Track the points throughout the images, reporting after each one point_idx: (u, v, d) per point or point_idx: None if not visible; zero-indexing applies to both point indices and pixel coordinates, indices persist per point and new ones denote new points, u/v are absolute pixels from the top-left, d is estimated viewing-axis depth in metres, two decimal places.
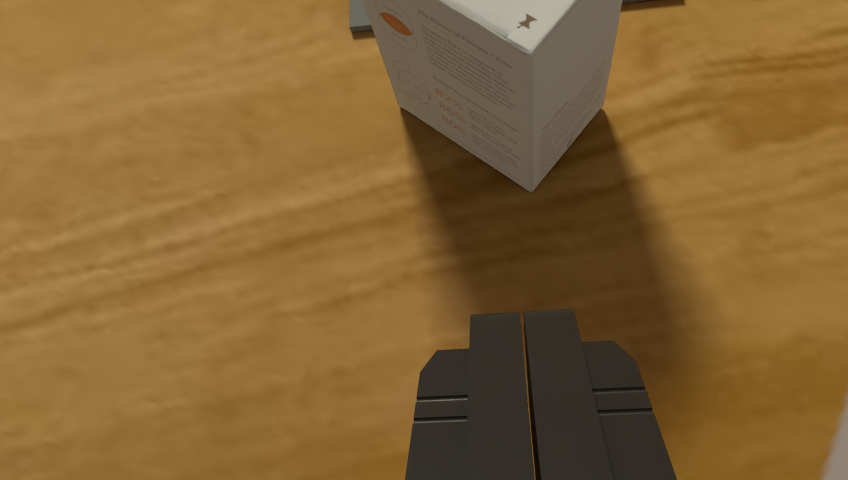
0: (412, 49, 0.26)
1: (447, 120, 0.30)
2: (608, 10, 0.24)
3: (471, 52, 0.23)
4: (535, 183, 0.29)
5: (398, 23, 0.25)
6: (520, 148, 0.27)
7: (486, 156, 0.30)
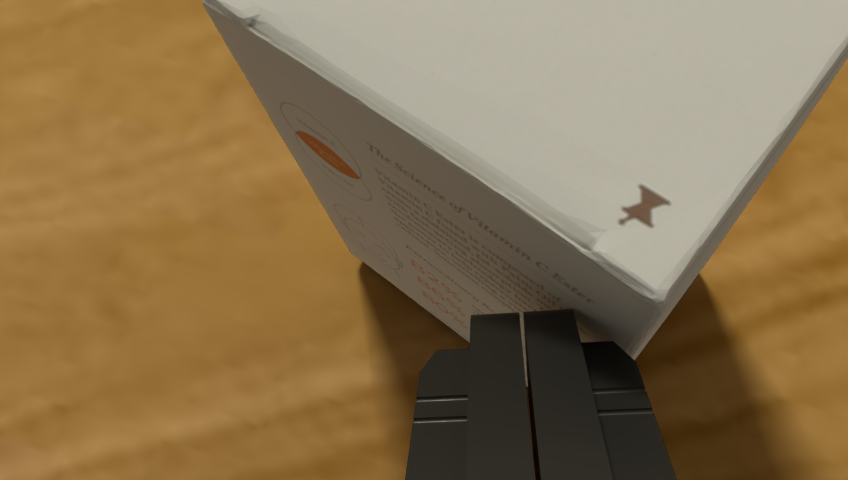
0: (363, 199, 0.13)
1: (432, 299, 0.17)
2: None
3: (489, 244, 0.10)
4: None
5: (332, 155, 0.12)
6: None
7: None
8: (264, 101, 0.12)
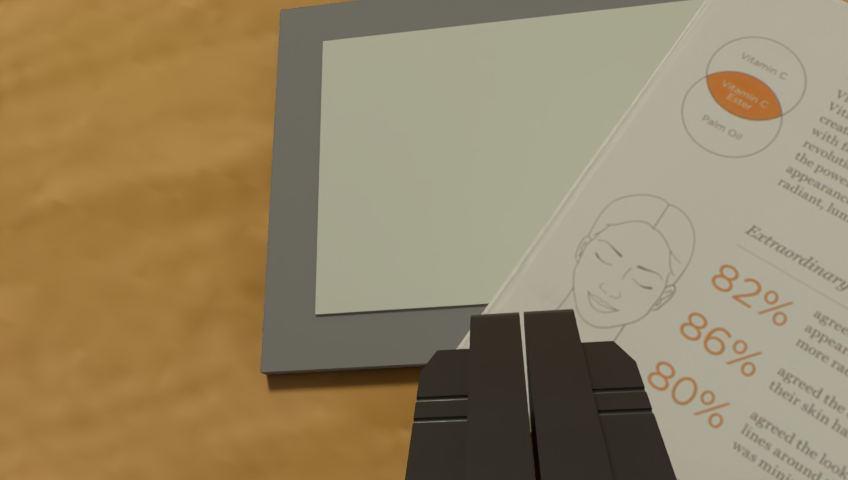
0: (740, 156, 0.13)
1: (669, 378, 0.12)
2: None
3: None
4: None
5: (756, 93, 0.13)
6: None
7: None
8: (694, 42, 0.14)
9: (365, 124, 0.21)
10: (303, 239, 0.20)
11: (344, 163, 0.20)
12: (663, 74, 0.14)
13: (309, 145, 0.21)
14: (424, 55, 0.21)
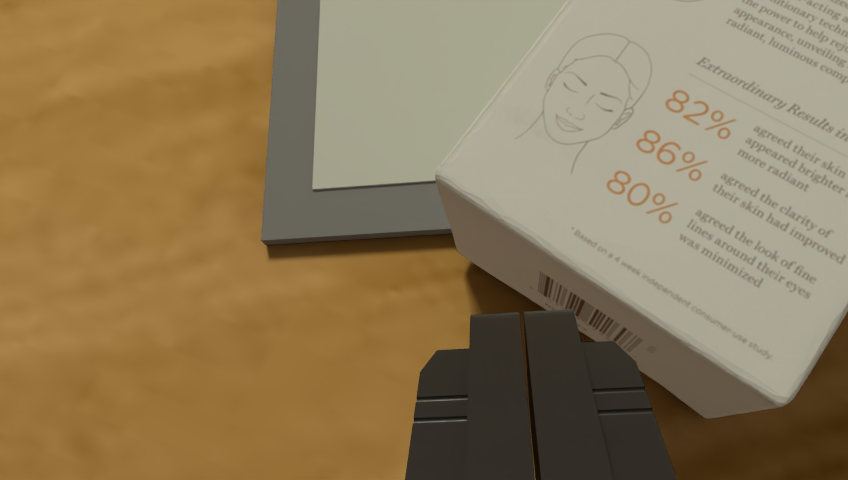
0: None
1: (625, 184, 0.13)
2: None
3: None
4: None
5: None
6: None
7: (692, 287, 0.13)
8: None
9: (361, 22, 0.22)
10: (302, 124, 0.21)
11: (341, 57, 0.22)
12: None
13: (308, 41, 0.22)
14: None
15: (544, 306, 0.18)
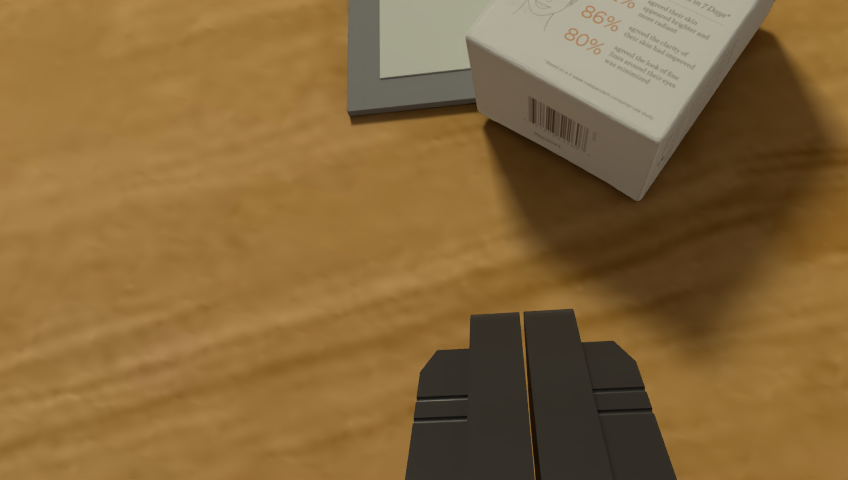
0: None
1: (575, 35, 0.23)
2: (749, 40, 0.27)
3: None
4: (673, 128, 0.22)
5: None
6: (710, 45, 0.23)
7: (611, 86, 0.23)
8: None
9: None
10: (370, 38, 0.31)
11: None
12: None
13: None
14: None
15: (534, 137, 0.28)
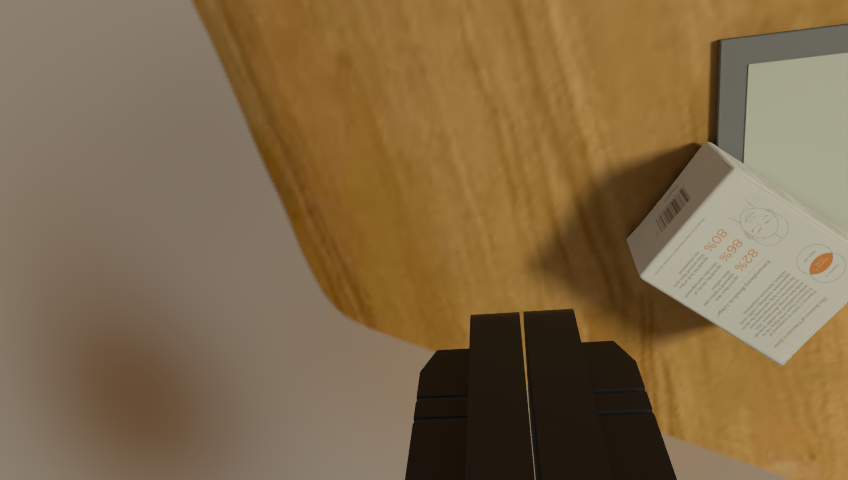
0: (797, 260, 0.37)
1: (720, 235, 0.37)
2: None
3: (789, 322, 0.39)
4: None
5: (821, 267, 0.37)
6: (699, 306, 0.39)
7: (680, 254, 0.38)
8: (847, 250, 0.37)
9: None
10: (790, 51, 0.38)
11: (832, 68, 0.39)
12: (836, 239, 0.37)
13: None
14: None
15: (676, 182, 0.41)
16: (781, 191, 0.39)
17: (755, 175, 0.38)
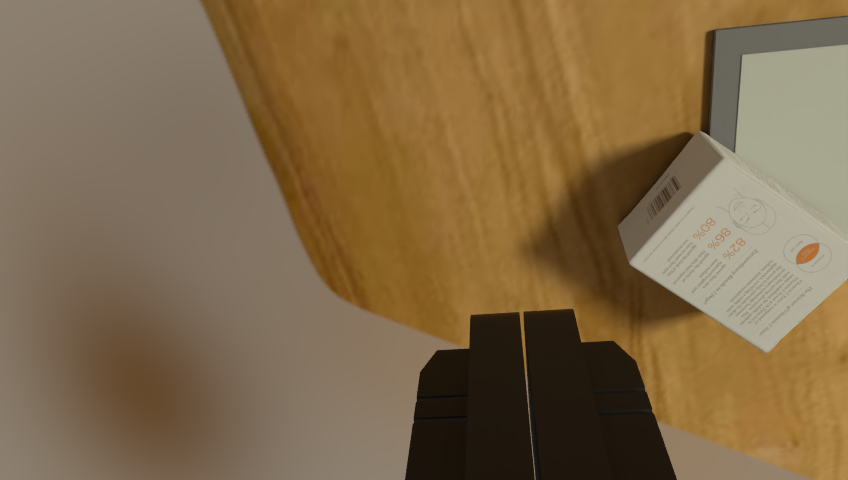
0: (784, 250, 0.38)
1: (709, 224, 0.38)
2: None
3: (774, 310, 0.39)
4: (637, 269, 0.40)
5: (807, 257, 0.38)
6: (687, 293, 0.40)
7: (669, 242, 0.39)
8: (834, 240, 0.37)
9: (847, 69, 0.39)
10: (784, 42, 0.39)
11: (825, 60, 0.39)
12: (822, 229, 0.37)
13: (841, 38, 0.38)
14: None
15: (667, 171, 0.42)
16: (771, 181, 0.39)
17: (745, 165, 0.39)
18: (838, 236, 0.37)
